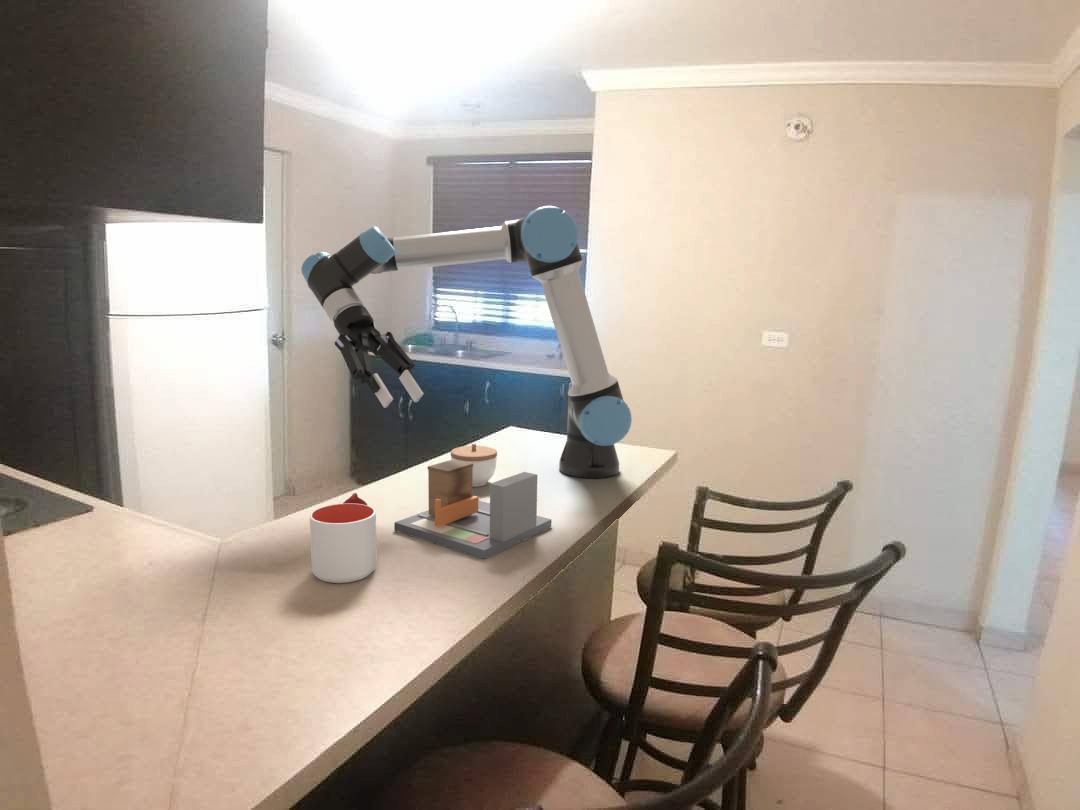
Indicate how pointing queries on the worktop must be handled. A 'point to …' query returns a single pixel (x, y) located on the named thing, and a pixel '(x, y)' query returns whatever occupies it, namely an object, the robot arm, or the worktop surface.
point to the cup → (343, 542)
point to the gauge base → (486, 520)
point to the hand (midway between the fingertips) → (404, 400)
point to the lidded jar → (477, 462)
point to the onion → (355, 500)
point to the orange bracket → (454, 510)
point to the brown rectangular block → (449, 483)
